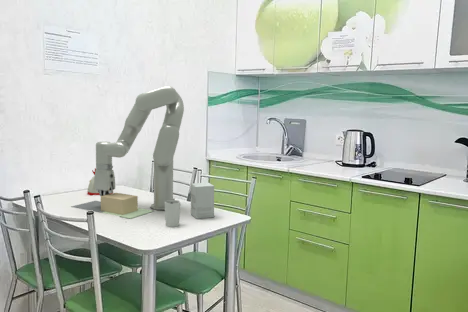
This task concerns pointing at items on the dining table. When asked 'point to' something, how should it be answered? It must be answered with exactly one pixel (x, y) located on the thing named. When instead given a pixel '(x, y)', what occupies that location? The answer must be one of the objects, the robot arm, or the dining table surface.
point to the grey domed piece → (92, 187)
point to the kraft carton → (119, 203)
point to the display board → (97, 208)
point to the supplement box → (202, 200)
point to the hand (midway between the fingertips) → (104, 203)
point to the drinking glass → (172, 212)
